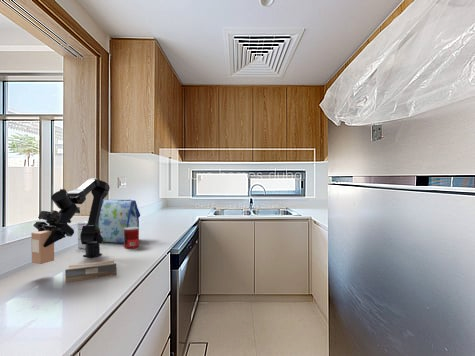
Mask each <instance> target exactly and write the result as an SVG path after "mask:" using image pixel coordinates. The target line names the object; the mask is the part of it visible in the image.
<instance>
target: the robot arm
mask: <svg viewBox="0 0 475 356" xmlns="http://www.w3.org/2000/svg"><path fill="white" fill-rule="evenodd" d="M110 188H111V187H110V184H109V183H107V182H106V181H103V180H100V179H99V178H95V177H93V178H92V177H90V178H88V179H87V180H86V181H85V182H84V183H82V185H80V186H79V187H78V188H76V189H72V190H69V191H67V190H66V189H65V188H59V191H56V192H54V193H53V194H51V201H52V202H53V203H54V204H55V206H56V207H57V208H58V209H59V211H57V210H54V209H53V210H51V211H47V210H40V212H39V215H38V217H37V218H38V219H39V221H35V223H34V224H33V227H34V228H35V229H37V232H39V231H45V230H46V231H51V235H50V236H49V237H48V239H47V240H46V242H45V243H44V245H43V246H44V247H47V246H49V245H51V244H52V243H54V244H55V243H57V242H58V241H60V240H62V239H64V238H66V237H70V238H71V237H72V236H73V235H74V234H75V229H74V228H72V226H70V225H69V224H71V223H72V218H73V217H74V216H75V214H81V210H80V209H81V207H80V206H77V205H82V204H83V203H85V201H86V200H87V198H86V197H87V195H88V194H89V193H91V194H92V196H93V198H92V203H91V206H90V211H89V217H88V220H87V221H88V223H87V225H86V226H83V227H82V231H81V235H80V238H81V243H82V245H83V244H85V248H84V249H85V254H83V255H82V257H86V258H94V257H98V256H101V255H103V253H101V247H100V245H102V244H103V238H102V236H101V234H100V229H99V227H98V222H99V217H100V212H101V208H102V203H103V200H105V198H106V197H107V196H108V194H109V191H110ZM40 220H43V221H40Z"/></svg>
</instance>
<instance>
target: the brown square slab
mask: <svg viewBox="0 0 475 356" xmlns="http://www.w3.org/2000/svg"><path fill="white" fill-rule="evenodd" d="M64 275H65V280H64V281H65V283H70V282H76V281H77V282H78V281H83V280H89V279H98V278H104V277H113V276H117V262H116V263H115V260H113V259H112V260H105V261H98V262H95V261H94V262H88V263H81V264H80V263H79V264H73V265H69V266H68V268H67V269H65V274H64Z"/></svg>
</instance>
